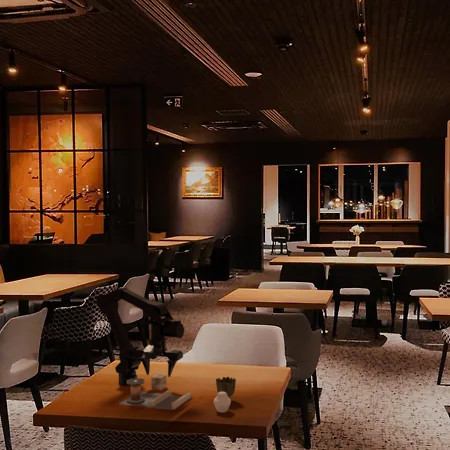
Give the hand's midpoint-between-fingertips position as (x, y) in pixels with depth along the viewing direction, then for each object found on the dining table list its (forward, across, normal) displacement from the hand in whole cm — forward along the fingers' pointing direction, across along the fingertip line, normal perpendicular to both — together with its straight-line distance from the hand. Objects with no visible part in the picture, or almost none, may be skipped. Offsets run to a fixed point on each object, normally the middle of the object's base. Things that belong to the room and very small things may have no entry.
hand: (158, 375), depth 251 cm
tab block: (+6, 0, 0) cm, 6 cm away
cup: (+6, +29, -3) cm, 30 cm away
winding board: (+6, +6, -15) cm, 17 cm away
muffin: (+6, +32, -15) cm, 36 cm away
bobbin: (+5, 0, -18) cm, 19 cm away
